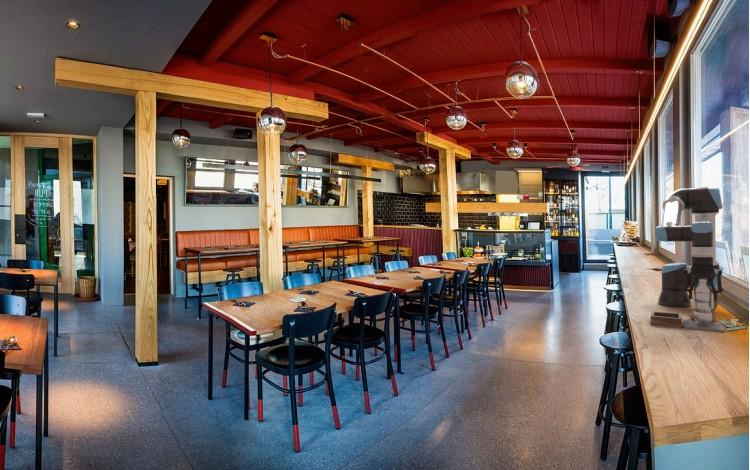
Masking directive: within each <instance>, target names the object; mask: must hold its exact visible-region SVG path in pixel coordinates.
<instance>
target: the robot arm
mask: <svg viewBox="0 0 750 470" xmlns="http://www.w3.org/2000/svg"><path fill="white" fill-rule="evenodd" d="M662 209H663V215H662V222H661V225H659V226H655V228H654V238H655V241H657V242H664V243H665V242H669V243H670V242H683V243H685V242H689V243H690V242H691V256H692V257H691V265H688V263H687V262H673V263H666V264H663V265H662V266H661V273H660V274H661V292H660V294H659V297H658V300H657V303H658V304H659V305H661V306H665V307H675V308H689V307H692V308H695V295H694V287H695V286H696V285H697V284H698V282H697V281H698V278H708V283H707V284H708V285H709V286H710V288H711V289H712V291H713V293H712V294H711V309H714V301H717V294H718V293H720V294H721V293H722V294H723V288H722V279H723V278H722V277H723V270H724V269H723V268H724V267H723V266H720V262H718V260H716V253H717V252H716V250H717V249H716V216H717V215H718V214H719V213H720V210H721V209H723V202H722V197H721V192H720V188H719V187H717V186H703V187H701V186H700V187H691V188H689V187H688V188H687V187H686V188H680V189H677V190H675V191H673V192H671V193H670V194H669V195H667V196H666V197H665V198H664V200H663V204H662ZM683 211H690V213H691V215H693V216H694V222H691V225H681V219H682V212H683Z"/></svg>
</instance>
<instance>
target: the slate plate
mask: <svg viewBox="0 0 750 470" xmlns="http://www.w3.org/2000/svg"><path fill="white" fill-rule="evenodd" d="M721 323H722V322H714V321H711V322H710V323H701V322H697V321H695V320H694V319H682V325H683V329H685V330H686V329H687V330H695V331H696V330H697V331H707V332H715V333H716V332H717V333H725V327H724V325H723V323H722V324H721Z"/></svg>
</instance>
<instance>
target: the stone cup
mask: <svg viewBox="0 0 750 470" xmlns="http://www.w3.org/2000/svg"><path fill="white" fill-rule="evenodd" d="M712 293H713V291H712ZM721 296H722V295H721V293H718V294H717V301H714V309H711V313H712V321H711V322H714V321H715V320H716V319H717V317H716V314H715V312H716V310H717V308H718V306H719V304H720V301H721ZM710 306H711V302H710ZM694 312H695V309H693V310H691V312H690V313H689V317H688V318H690V320H693V321H695V319H694Z"/></svg>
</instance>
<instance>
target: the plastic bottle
mask: <svg viewBox="0 0 750 470" xmlns="http://www.w3.org/2000/svg"><path fill="white" fill-rule="evenodd" d="M697 282H698V284H697V285H696V286H695V287H694V289H693V292H694V310H695V312H694V319H695V320H694V319H693V320H694V321H697V322H701V323H710V322H713V321H712V313H711V306H710V302H711V294H712V288H710V286H709V285H708V284H707V283H708V278H698V281H697Z"/></svg>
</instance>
